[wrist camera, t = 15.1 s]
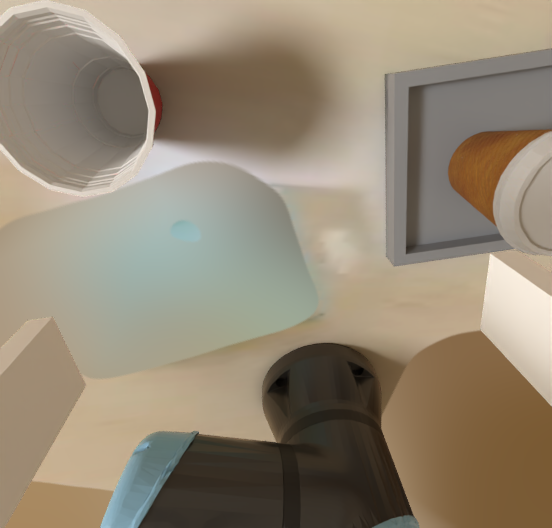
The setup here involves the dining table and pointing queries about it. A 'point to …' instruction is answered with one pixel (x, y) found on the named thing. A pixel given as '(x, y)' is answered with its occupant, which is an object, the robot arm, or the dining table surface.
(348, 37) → the dining table surface
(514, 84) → the tray
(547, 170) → the disposable coffee cup
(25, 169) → the plastic cup
